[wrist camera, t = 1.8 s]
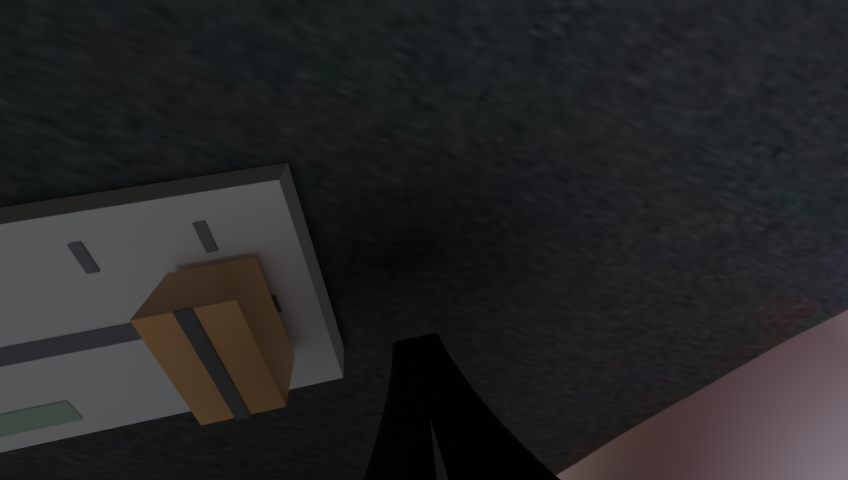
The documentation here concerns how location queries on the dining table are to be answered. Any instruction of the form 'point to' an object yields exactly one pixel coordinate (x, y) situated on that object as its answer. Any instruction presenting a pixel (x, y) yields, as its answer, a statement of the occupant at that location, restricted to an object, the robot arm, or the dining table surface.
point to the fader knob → (219, 340)
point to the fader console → (140, 294)
